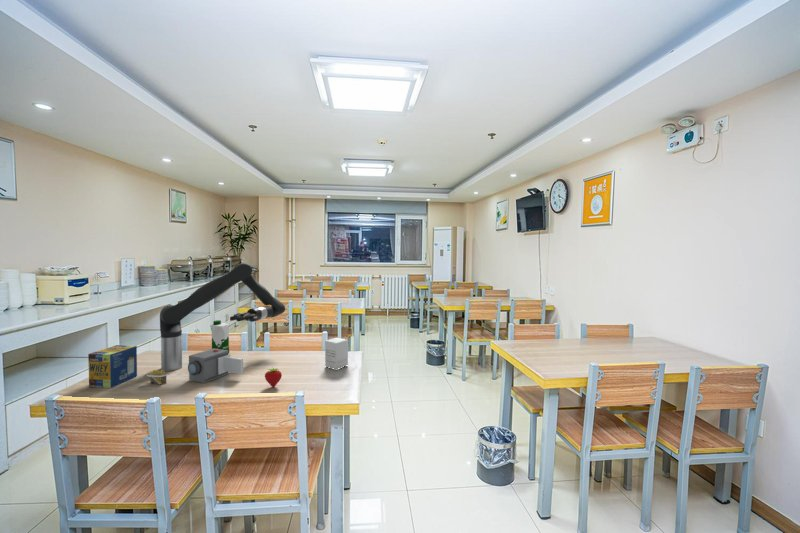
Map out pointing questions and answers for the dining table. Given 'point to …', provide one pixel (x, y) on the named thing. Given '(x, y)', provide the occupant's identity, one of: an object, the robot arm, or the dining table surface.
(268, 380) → the strawberry
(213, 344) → the milk carton
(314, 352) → the dining table surface
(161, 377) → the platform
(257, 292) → the robot arm
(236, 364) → the hatch
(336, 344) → the supplement box
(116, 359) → the protein box
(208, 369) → the camera body
